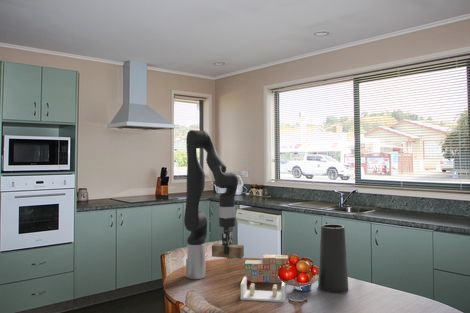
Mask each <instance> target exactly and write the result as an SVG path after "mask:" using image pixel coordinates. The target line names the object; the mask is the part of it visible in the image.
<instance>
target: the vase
mask: <svg viewBox="0 0 470 313" xmlns="http://www.w3.org/2000/svg"><path fill="white" fill-rule="evenodd" d="M345 230H346V229H345V226H344V225H343V224H342V225H341V224H337V223H335V224H333V223H329V224H322V225H320V239H319V240H320V245H319V260H318V261H319V263H318V272H319V275H320V282H319V283H318V282H317V284H318V285H317V286H318V289H319V290H321V291H322V292H326V293H331V294H341V293H342V294H343V293H347V292H348V291H349V278H348V277H349V276H348V262H347V261H348V260H347V258H348V257H347V246H346V245H347V244H346V231H345ZM319 275H318V276H319Z"/></svg>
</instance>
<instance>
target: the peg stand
mask: <svg viewBox="0 0 470 313" xmlns="http://www.w3.org/2000/svg"><path fill="white" fill-rule="evenodd" d="M241 280H242V281H241V283H240V298H239V299H240V300H241V301H260V302H272V303H273V302H275V303H285V302H286V295H287V294H286V293H287V291H286V288H287V287H286V283H284V282H283V281H282V283H281V291H278V285H277V284H273V285H272V290H259V289H258V290H257V289H256V287H255V286H256V284H255V282H250V285H249V289H248V286H247V284H248V282H247V277H245V276H243V278H242V279H241Z"/></svg>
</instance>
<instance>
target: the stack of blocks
mask: <svg viewBox="0 0 470 313" xmlns="http://www.w3.org/2000/svg"><path fill="white" fill-rule="evenodd" d="M262 257H263V258H262V259H263V260H256V259H254V260H251V259H249V260H248V259H246V260H245V262H244V277H247V283H273V284H275V283H276V284H282V282H281V281H280V280H279V278H278V268H279V267H280V266H281V265H282V264H286V263H288V264H289V256H288V254H287V255H286V254H285V255H284V254H262Z"/></svg>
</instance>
